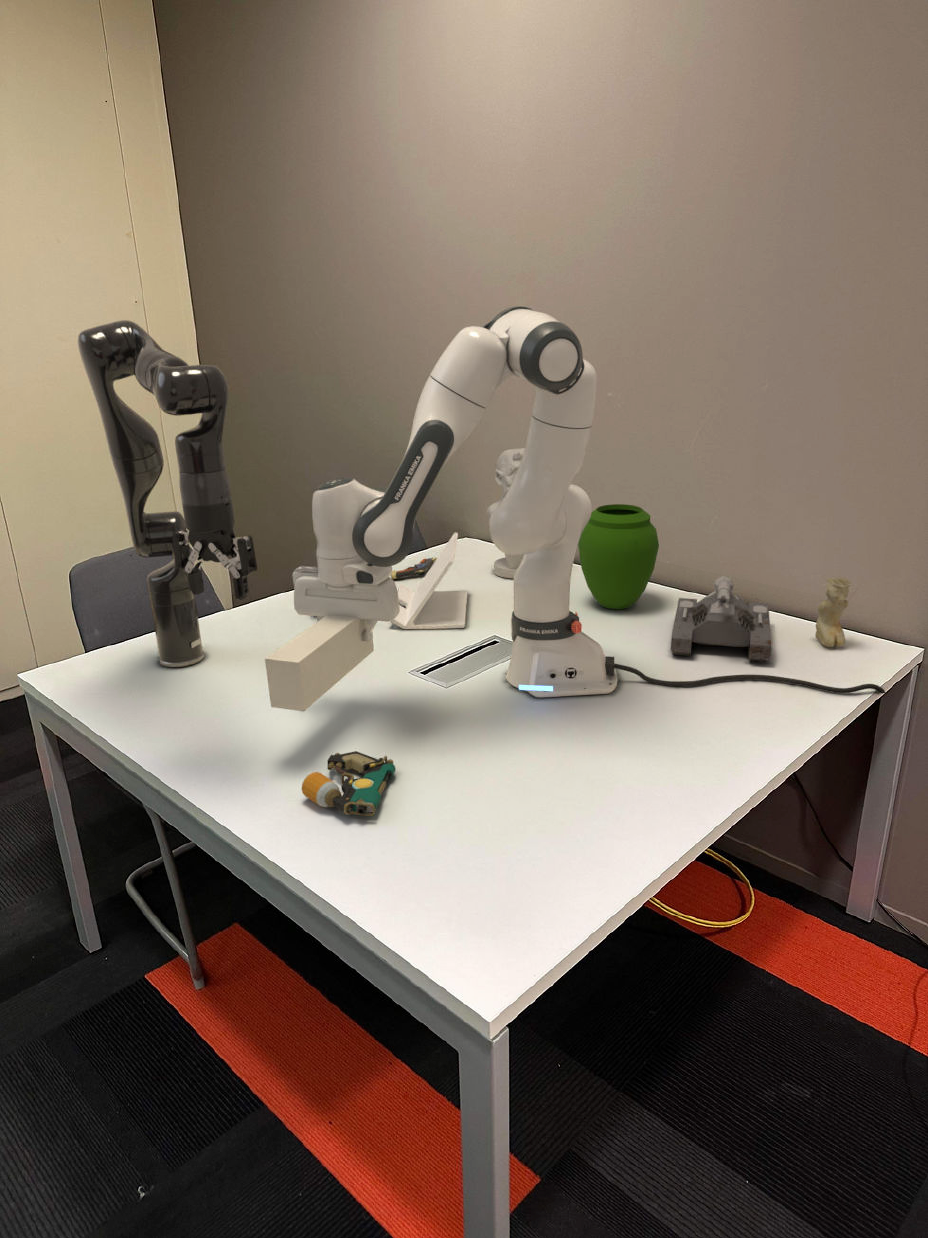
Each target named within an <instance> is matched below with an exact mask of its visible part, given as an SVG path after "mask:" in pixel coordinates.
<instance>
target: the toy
mask: <svg viewBox="0 0 928 1238" xmlns="http://www.w3.org/2000/svg"><path fill="white" fill-rule="evenodd" d="M734 587H735V583H734V580H733V579H732V578H730V577H729V576H723V575H722V576H720V577H719V578H717V579H716V580H715V581H714V585H713V588H714V591H712V592H711V593H709V594H707V595H706V596H704V597H703V598H701V600H699V601H698V599H697V598H687V597H686V598H684V597H678V601H677V607H676V611H675V616H674V621H673V627H672V631H671V641H670V642H671V644H670V651H671V652H672V653H671V655H676V656H687V657H689V656H691V653H692V644H693V643H695V644H699V645H710V646H722V647H723V646H724V647H735V648H745V647H747V651H748V652H747V653H748V654H747V655H748V657H747V658H748V660H749V661H759V662H768V660H770V657H771V652H772V651H771V650H772V646H773V645H772V631H771V630H772V629H771V620H770V609H769V604H768V603H758V602H749V603H748V604H747V603H746V602H745V601H744V600H743V599H742V598H740V596H739V595H737V594H735V593H734V592H732V591H733V590H734Z"/></svg>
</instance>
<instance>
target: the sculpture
mask: <svg viewBox="0 0 928 1238" xmlns="http://www.w3.org/2000/svg"><path fill="white" fill-rule="evenodd" d="M826 581H827V586H826V588H825V590H824V593H825V595H826V596H827V598H826V600H824V601H822V602H821V603H820V604H819V605H818V606H817V609H816V610H817V612H818V614H819V616H818V617H817V619H816V623H815V630H816V631H815V634H814V635H815V639H817V640H819V642H820V643H821V644H822V645H823V646H825V647H827V648H832V647H834V646H835V647H843V646H844V645H845V643H846V642H845V641H846V636H845V632H844V630H843V626H842V624H841V622H840V621H841V617H842V615H843V612H844V610H845V609H846V608H847V606H848V604H849V603H848V602H849V601H847V598H848V597H849V592H850V586H851V585H852V582H850V580H848V579H847V578H845V577H841V576H840V577H835V578H831V577H827V578H826Z"/></svg>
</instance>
